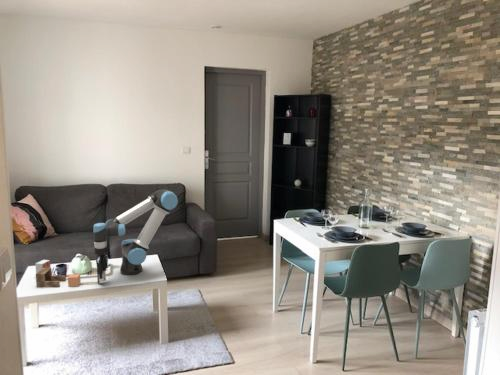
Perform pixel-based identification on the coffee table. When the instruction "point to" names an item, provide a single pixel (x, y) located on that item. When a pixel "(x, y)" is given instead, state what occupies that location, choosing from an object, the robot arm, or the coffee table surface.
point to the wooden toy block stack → (48, 278)
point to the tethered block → (78, 280)
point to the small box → (42, 265)
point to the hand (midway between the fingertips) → (102, 281)
